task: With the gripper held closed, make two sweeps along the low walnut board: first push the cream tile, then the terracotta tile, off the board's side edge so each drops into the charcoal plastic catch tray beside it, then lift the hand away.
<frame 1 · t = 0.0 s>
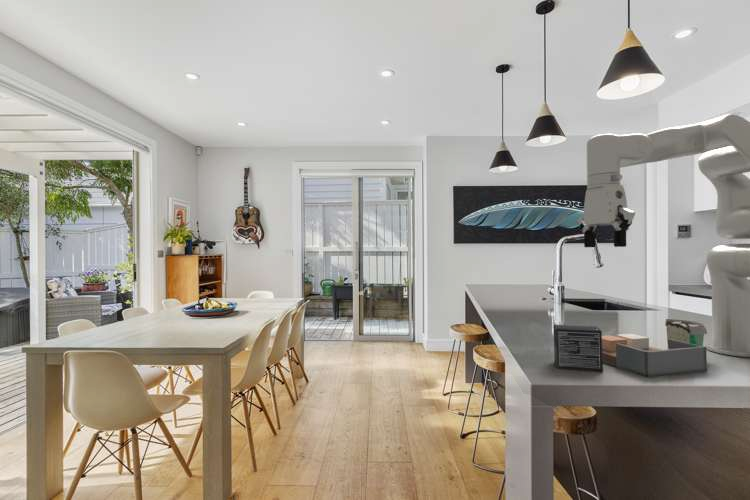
hand: (604, 246, 99), 31 cm above the counter, tool pointing down, fingers open, 9 cm apart
catch tray: (660, 368, 95), on the counter
small box: (577, 367, 97), on the counter
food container: (690, 359, 103), on the counter
terracotta tile: (610, 348, 105), point 2 cm above the counter, touching walnut board
cream tile: (632, 346, 107), point 2 cm above the counter, touching walnut board
walnut board: (622, 356, 106), on the counter
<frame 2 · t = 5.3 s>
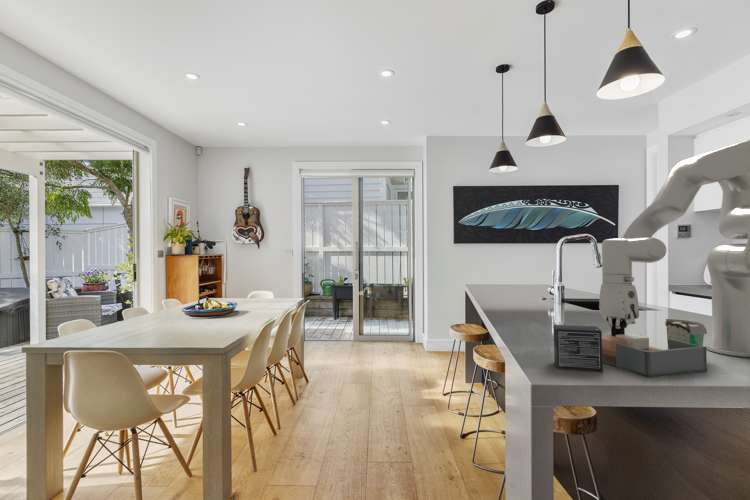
hand: (618, 340, 112), 3 cm above the counter, tool pointing down, fingers closed
cream tile: (632, 346, 107), point 3 cm above the counter, touching gripper
everything else where it was.
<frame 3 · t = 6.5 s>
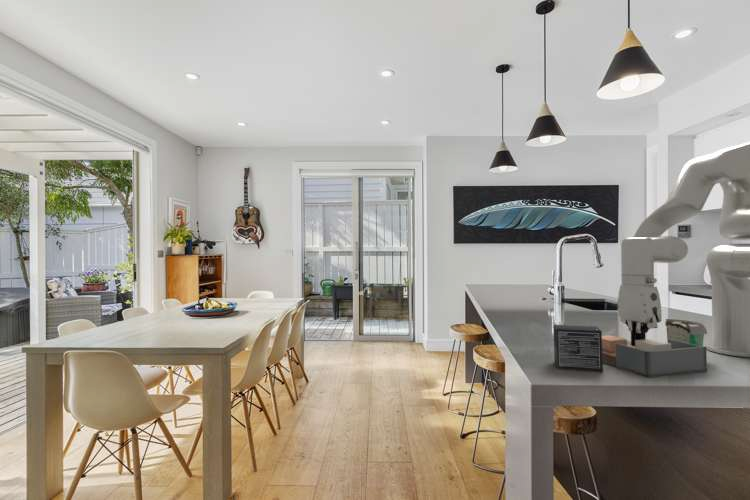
hand: (638, 346, 105), 3 cm above the counter, tool pointing down, fingers closed
cream tile: (652, 353, 100), point 3 cm above the counter, touching gripper, walnut board
everything else where it was.
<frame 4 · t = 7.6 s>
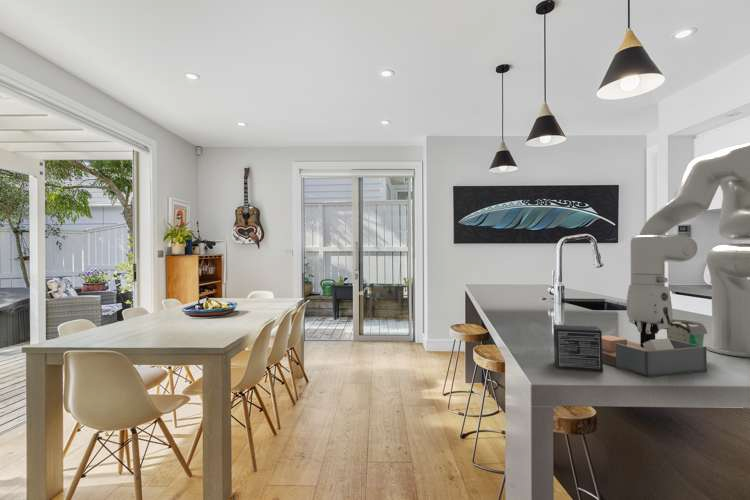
hand: (647, 347, 102), 4 cm above the counter, tool pointing down, fingers closed
cream tile: (656, 353, 99), point 3 cm above the counter, tilted 58°, touching catch tray, gripper
everything else where it was.
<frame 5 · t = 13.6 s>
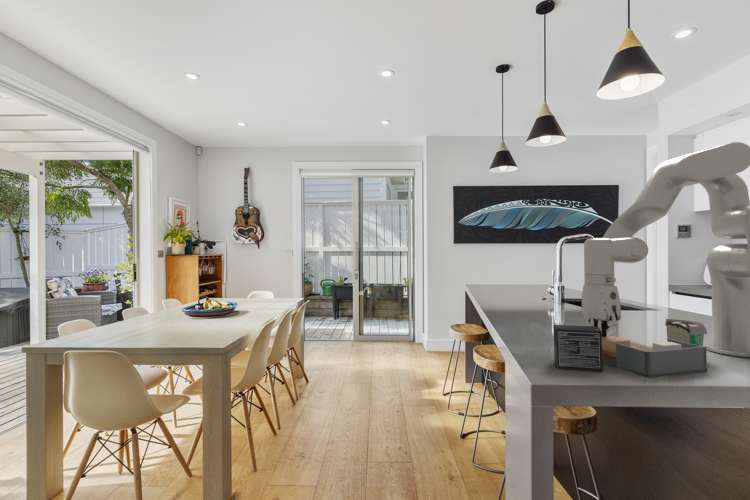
hand: (599, 343, 109), 3 cm above the counter, tool pointing down, fingers closed
terracotta tile: (613, 349, 104), point 3 cm above the counter, touching gripper, walnut board
cream tile: (661, 352, 97), point 3 cm above the counter, tilted 90°, touching catch tray
everything else where it was.
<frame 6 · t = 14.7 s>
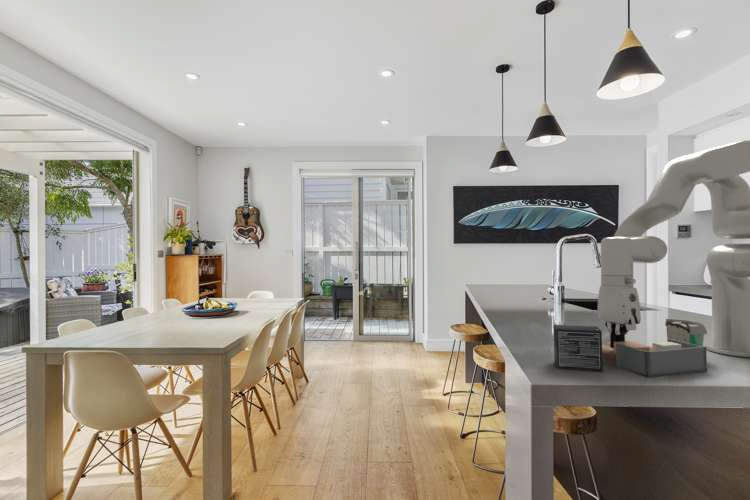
hand: (617, 348, 103), 3 cm above the counter, tool pointing down, fingers closed
terracotta tile: (631, 355, 98), point 2 cm above the counter, touching walnut board
everything else where it was.
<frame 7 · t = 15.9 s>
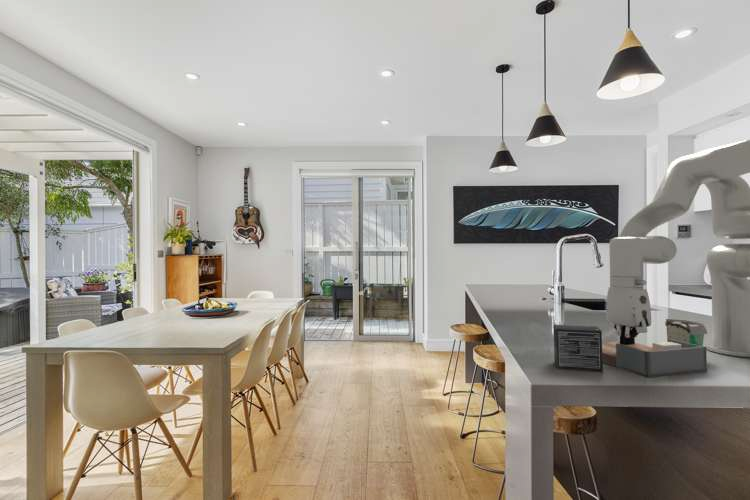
hand: (627, 351, 100), 3 cm above the counter, tool pointing down, fingers closed
terracotta tile: (636, 360, 96), point 2 cm above the counter, tilted 23°, touching catch tray, gripper, walnut board
everything else where it was.
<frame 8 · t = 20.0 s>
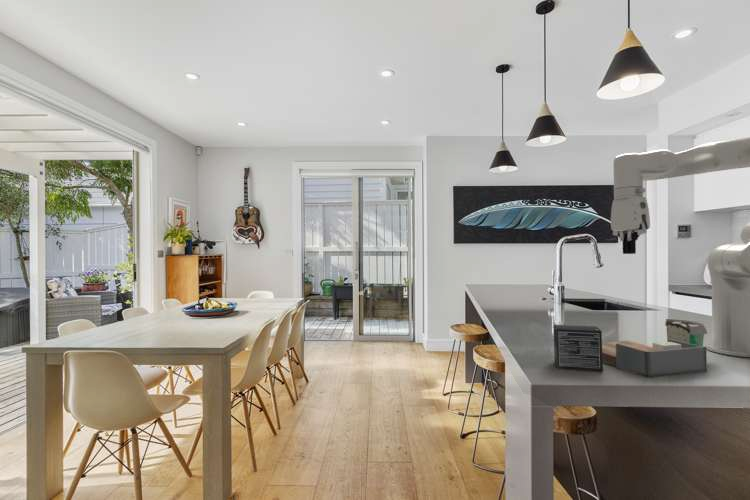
hand: (629, 253, 115), 29 cm above the counter, tool pointing down, fingers closed
terracotta tile: (636, 360, 96), point 2 cm above the counter, tilted 23°, touching catch tray, walnut board
everything else where it was.
at the end: cream tile inside the target area (3.5 cm from its centre), point 3.3 cm above the counter; terracotta tile inside the target area (5.2 cm from its centre), point 1.7 cm above the counter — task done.
